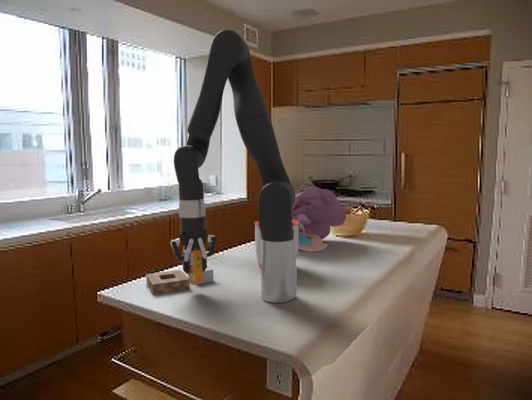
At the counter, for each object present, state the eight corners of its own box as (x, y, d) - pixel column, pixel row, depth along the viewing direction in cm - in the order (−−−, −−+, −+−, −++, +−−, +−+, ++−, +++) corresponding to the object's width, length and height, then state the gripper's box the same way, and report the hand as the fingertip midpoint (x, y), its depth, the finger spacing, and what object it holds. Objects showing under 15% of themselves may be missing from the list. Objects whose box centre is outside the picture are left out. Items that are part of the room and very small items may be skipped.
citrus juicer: (273, 259, 155) (272, 208, 152) (308, 269, 142) (308, 213, 140) (242, 268, 144) (241, 212, 141) (277, 279, 131) (277, 218, 129)
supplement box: (196, 279, 122) (194, 247, 121) (203, 282, 120) (202, 249, 119) (187, 282, 120) (185, 249, 118) (195, 285, 117) (193, 251, 116)
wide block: (206, 276, 136) (205, 265, 135) (213, 281, 130) (213, 269, 130) (189, 279, 132) (188, 267, 132) (195, 284, 127) (195, 272, 127)
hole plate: (181, 278, 133) (180, 269, 133) (189, 288, 123) (189, 279, 123) (146, 283, 128) (146, 274, 128) (153, 294, 119) (152, 284, 118)
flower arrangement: (303, 269, 159) (313, 201, 150) (256, 249, 172) (262, 186, 163) (342, 243, 186) (352, 185, 177) (299, 228, 199) (306, 172, 190)
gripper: (170, 218, 111) (174, 279, 113) (220, 214, 117) (222, 271, 119) (165, 215, 118) (168, 272, 120) (211, 210, 124) (214, 265, 126)
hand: (195, 271), depth 119 cm, fingers closed on supplement box, 4 cm apart
